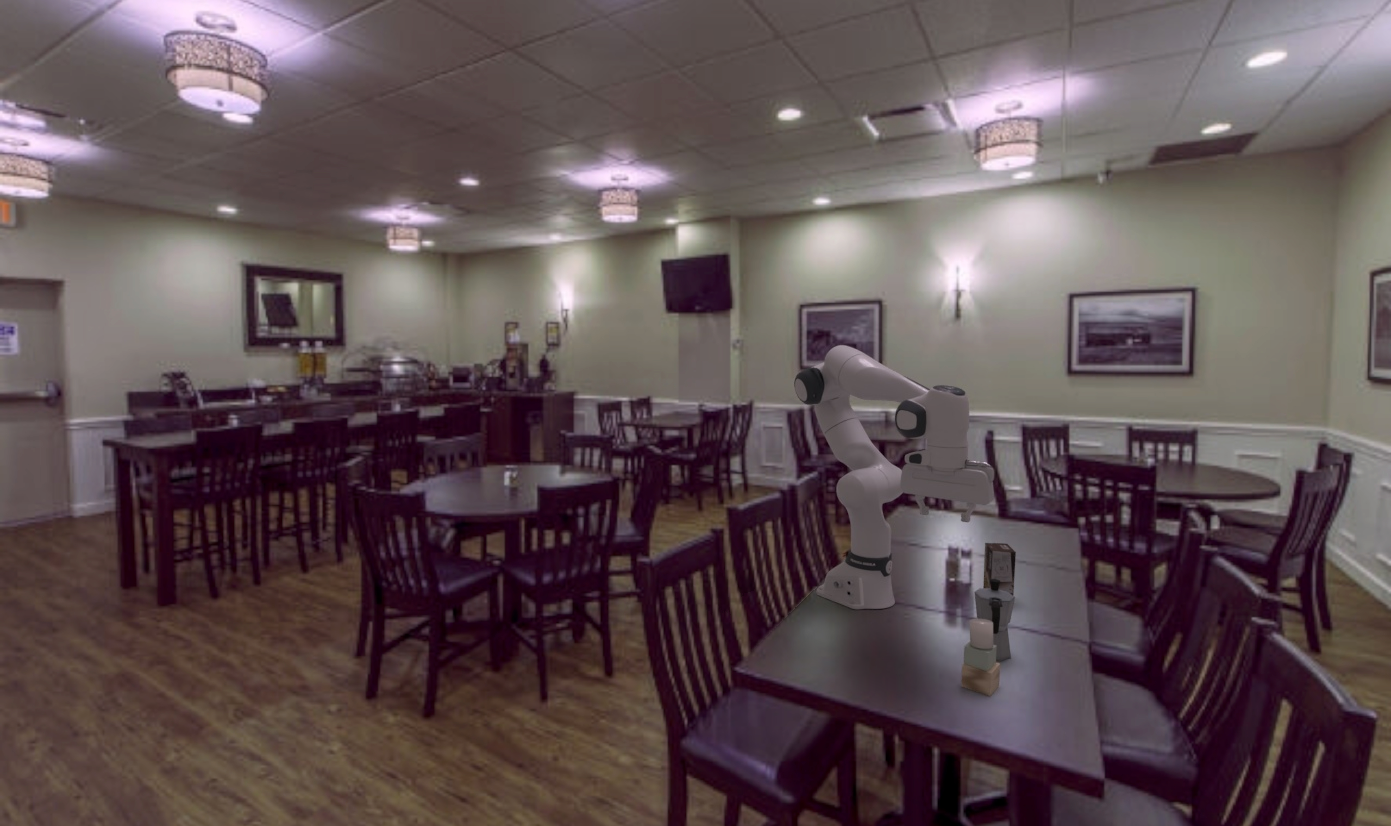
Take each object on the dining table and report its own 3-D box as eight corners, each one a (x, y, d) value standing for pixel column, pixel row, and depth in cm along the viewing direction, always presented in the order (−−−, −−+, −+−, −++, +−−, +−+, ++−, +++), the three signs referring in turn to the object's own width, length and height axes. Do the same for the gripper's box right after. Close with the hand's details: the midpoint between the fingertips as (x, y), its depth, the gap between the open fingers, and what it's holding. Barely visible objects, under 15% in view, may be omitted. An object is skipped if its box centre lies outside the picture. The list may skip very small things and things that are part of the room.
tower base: (961, 686, 142) (962, 664, 141) (970, 676, 146) (971, 655, 146) (990, 696, 138) (991, 673, 138) (999, 685, 143) (1000, 663, 142)
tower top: (963, 663, 142) (964, 646, 141) (972, 656, 145) (972, 638, 145) (987, 671, 138) (988, 653, 138) (995, 663, 142) (996, 645, 142)
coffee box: (1013, 608, 185) (1016, 552, 183) (989, 606, 186) (991, 550, 185) (1005, 596, 194) (1008, 542, 192) (982, 594, 195) (984, 541, 194)
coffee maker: (971, 638, 165) (974, 569, 164) (1010, 644, 162) (1013, 573, 160) (972, 665, 151) (976, 589, 150) (1015, 672, 148) (1019, 594, 147)
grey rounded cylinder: (965, 643, 143) (964, 620, 143) (982, 640, 144) (981, 617, 144) (981, 649, 138) (981, 625, 138) (998, 647, 140) (997, 623, 140)
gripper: (999, 461, 144) (996, 523, 145) (909, 451, 158) (908, 508, 159) (989, 465, 139) (987, 528, 141) (898, 454, 153) (896, 513, 154)
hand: (944, 517), depth 150 cm, fingers open, 8 cm apart
